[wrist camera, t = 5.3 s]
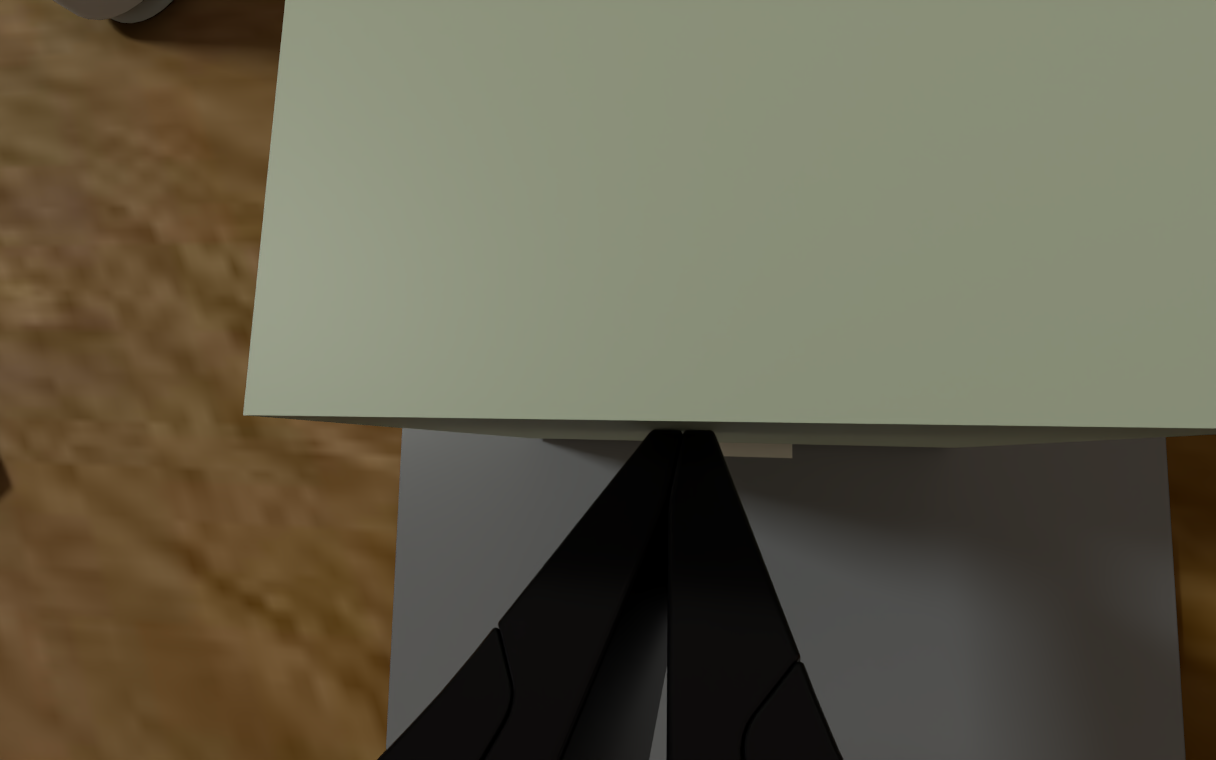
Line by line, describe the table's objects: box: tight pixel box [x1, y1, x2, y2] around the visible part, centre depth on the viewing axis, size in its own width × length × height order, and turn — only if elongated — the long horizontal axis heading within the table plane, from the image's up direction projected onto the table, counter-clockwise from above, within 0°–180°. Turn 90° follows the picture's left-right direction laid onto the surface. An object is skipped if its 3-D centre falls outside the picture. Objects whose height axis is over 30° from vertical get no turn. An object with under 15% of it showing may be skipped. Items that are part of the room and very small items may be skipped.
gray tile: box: [386, 428, 1186, 760], centre depth 15 cm, size 18×18×1 cm
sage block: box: [243, 0, 1216, 448], centre depth 11 cm, size 10×10×9 cm
